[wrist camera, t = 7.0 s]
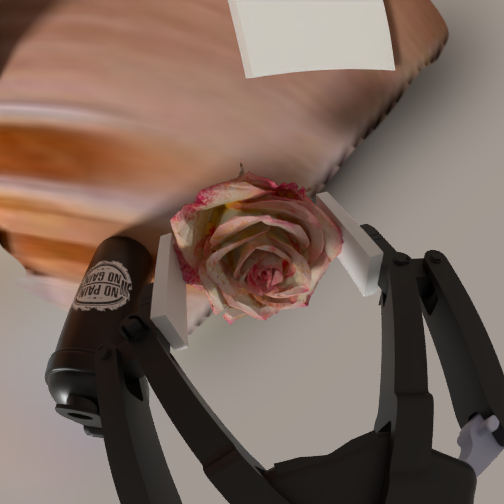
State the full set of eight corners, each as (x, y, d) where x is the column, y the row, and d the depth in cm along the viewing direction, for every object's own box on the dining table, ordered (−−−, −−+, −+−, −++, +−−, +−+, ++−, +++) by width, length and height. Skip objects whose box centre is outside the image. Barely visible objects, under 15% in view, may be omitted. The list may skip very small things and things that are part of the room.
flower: (327, 178, 19) (383, 240, 13) (270, 270, 23) (293, 347, 17) (201, 124, 15) (196, 162, 9) (159, 239, 20) (143, 321, 14)
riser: (246, 78, 24) (253, 77, 21) (217, -41, 14) (220, -56, 11) (375, 68, 24) (395, 70, 21) (351, -38, 14) (368, -47, 11)
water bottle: (155, 229, 32) (131, 414, 14) (162, 289, 38) (159, 447, 20) (82, 231, 30) (16, 394, 12) (99, 289, 36) (69, 436, 18)
